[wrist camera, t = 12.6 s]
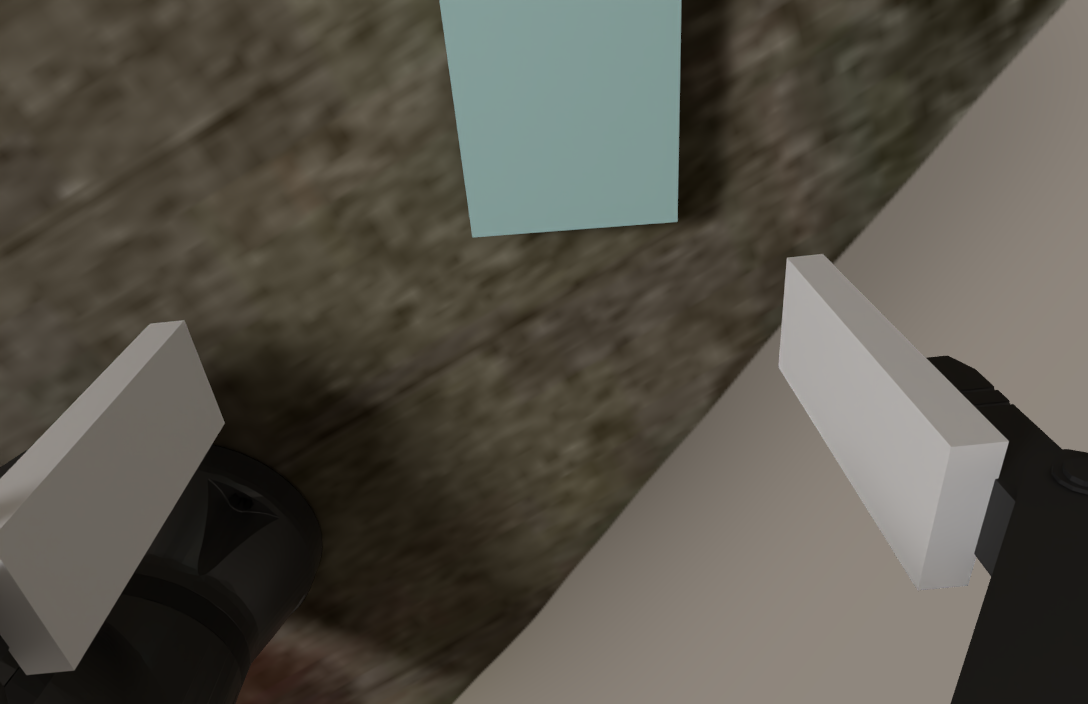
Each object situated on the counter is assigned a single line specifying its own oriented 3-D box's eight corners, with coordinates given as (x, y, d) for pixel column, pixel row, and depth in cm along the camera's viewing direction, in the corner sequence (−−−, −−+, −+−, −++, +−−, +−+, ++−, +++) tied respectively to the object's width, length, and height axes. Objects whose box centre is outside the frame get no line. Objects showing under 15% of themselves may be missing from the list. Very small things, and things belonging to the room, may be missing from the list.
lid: (477, 215, 36) (472, 237, 33) (418, -228, 27) (405, -244, 24) (667, 200, 36) (677, 222, 33) (672, -253, 27) (686, -272, 24)
